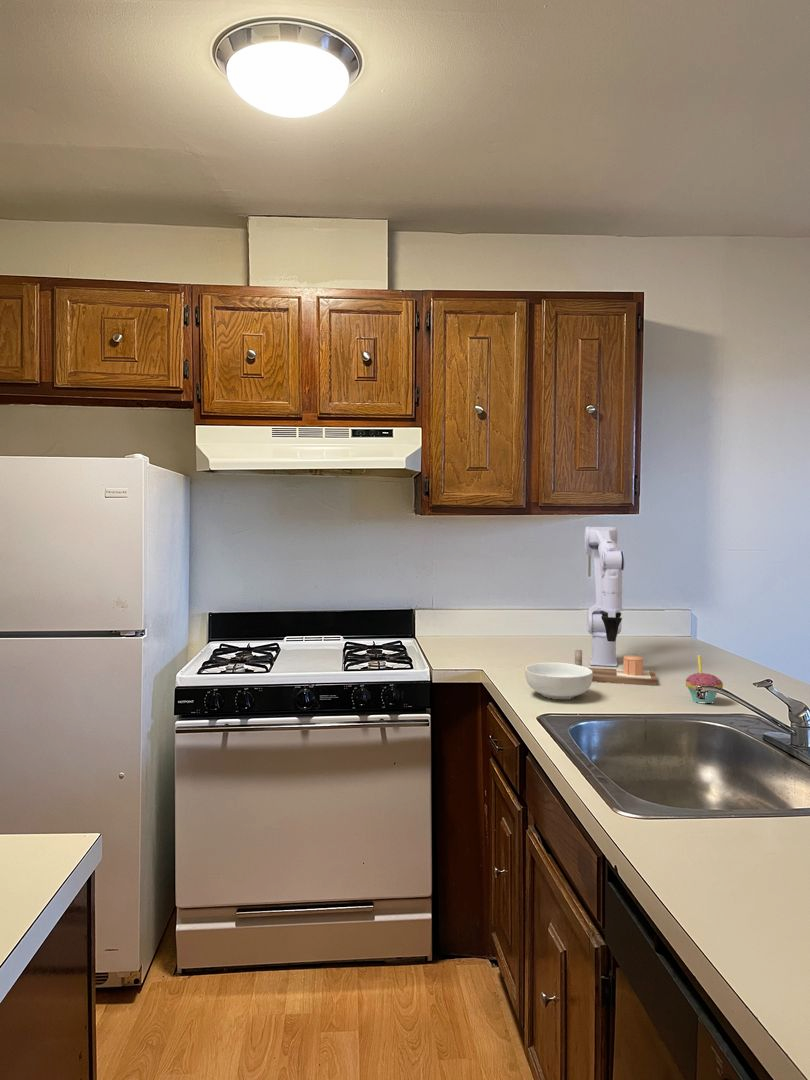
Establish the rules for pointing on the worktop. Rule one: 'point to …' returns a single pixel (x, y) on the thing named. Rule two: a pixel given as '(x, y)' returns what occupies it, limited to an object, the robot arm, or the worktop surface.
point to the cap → (633, 665)
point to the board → (618, 674)
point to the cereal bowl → (558, 679)
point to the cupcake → (703, 684)
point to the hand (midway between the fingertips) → (611, 639)
